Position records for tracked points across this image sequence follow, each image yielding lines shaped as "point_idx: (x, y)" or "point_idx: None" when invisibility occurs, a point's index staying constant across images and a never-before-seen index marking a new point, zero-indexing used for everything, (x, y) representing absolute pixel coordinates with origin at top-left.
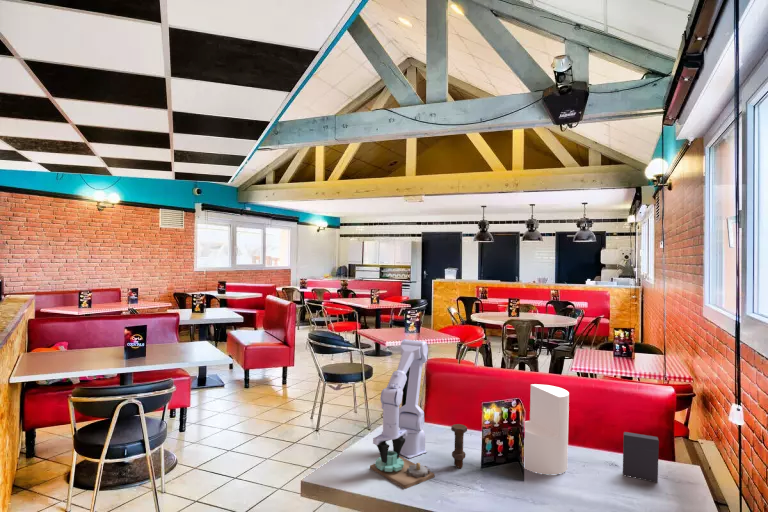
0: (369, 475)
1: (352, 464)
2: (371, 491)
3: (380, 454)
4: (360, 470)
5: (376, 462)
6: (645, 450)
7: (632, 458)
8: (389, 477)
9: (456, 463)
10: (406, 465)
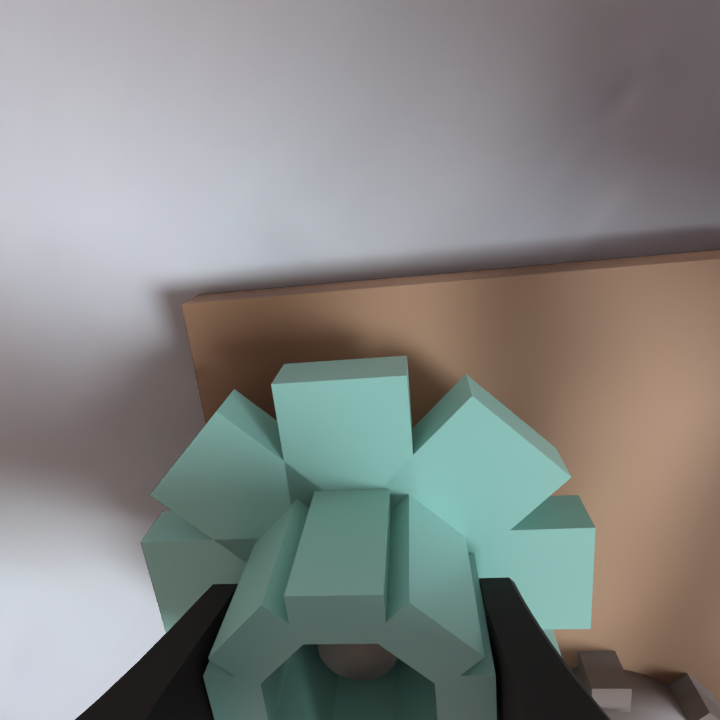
0: (116, 440)
1: (21, 20)
2: (9, 686)
3: (137, 673)
4: (63, 269)
5: (164, 500)
6: None
7: None
8: None
9: None
10: (621, 569)
